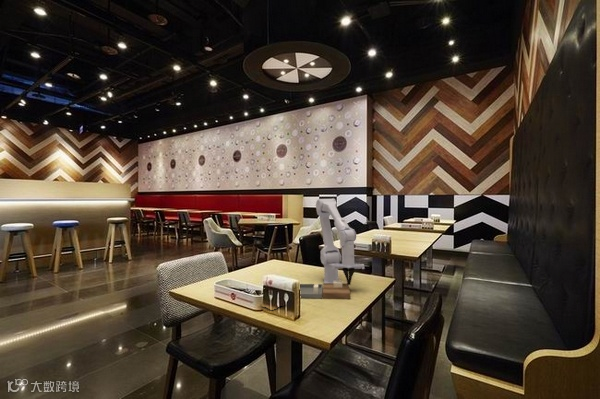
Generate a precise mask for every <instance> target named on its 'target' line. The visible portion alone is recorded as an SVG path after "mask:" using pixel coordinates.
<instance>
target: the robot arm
mask: <svg viewBox="0 0 600 399" xmlns="http://www.w3.org/2000/svg"><path fill="white" fill-rule="evenodd" d="M337 203H338V202H337V201H336V199H335V198H318V199H316V202H315V209H316V214H317V216H319V219H320V221H319V222H320V226H321V233H322V234H321V235H322V239H323V248H321V250H320V262H321V264H322V265H323V266H324V267H323V269H324V270H323V271H324V273H323V274H324V278H323V283H334V282H333V281H340V277H339V269H342V272H343V274H344V276H345V279H346V282H347V285H351V284H352V278H353V275H354V274H355V270H359V269H361V270H365V264H364V263H355V241H356V240H357V232H356V231H355V229H353V228H352V227H350V225H349V224H348V222H347V220H346V219H345V218H344V217H341V214H340V212H339V210H338V204H337ZM330 216H331V217H332V219H333V221H334V222H333V224H334V227H335V229H336V230H337V232H338V233H339V235H338V238H339V241H340V246H341V252H340V250H339V247H337V246H336V245H334V244H335V242H334V238H333V233H332V232H333V231H332V227H331V226H332V225H331V222H330V221H331V220H330Z"/></svg>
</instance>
